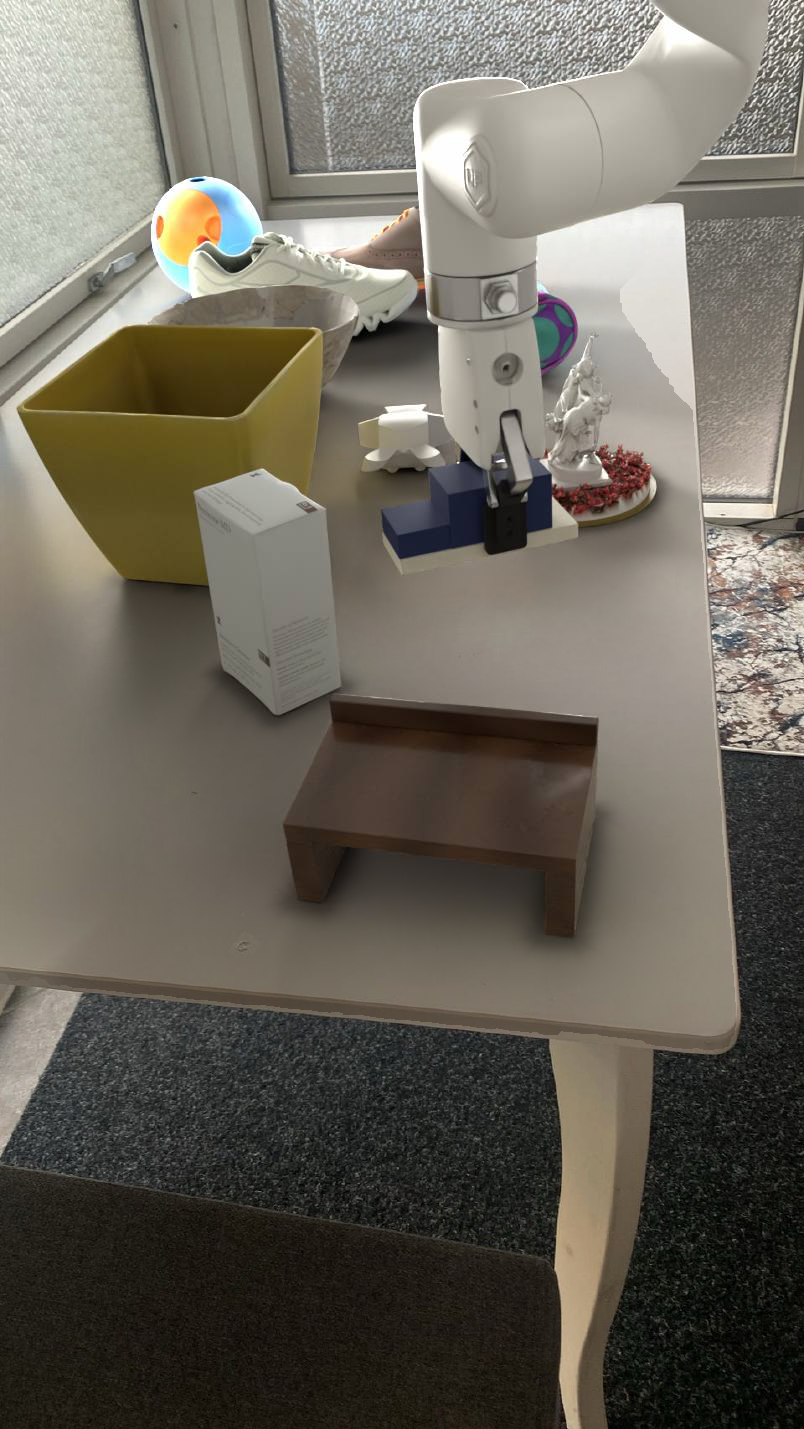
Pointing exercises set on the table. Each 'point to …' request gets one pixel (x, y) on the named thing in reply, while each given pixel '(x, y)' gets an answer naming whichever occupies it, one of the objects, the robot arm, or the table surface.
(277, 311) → the ceramic bowl
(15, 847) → the table surface
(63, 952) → the table surface
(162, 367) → the flower pot
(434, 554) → the navy stepped block
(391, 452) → the white boxy flared piece
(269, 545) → the cosmetic box
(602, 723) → the table surface
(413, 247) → the oxford shoe
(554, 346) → the pencil case
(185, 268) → the treat dispenser ball
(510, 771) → the shelf
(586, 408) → the figurine
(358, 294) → the running shoe
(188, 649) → the table surface
